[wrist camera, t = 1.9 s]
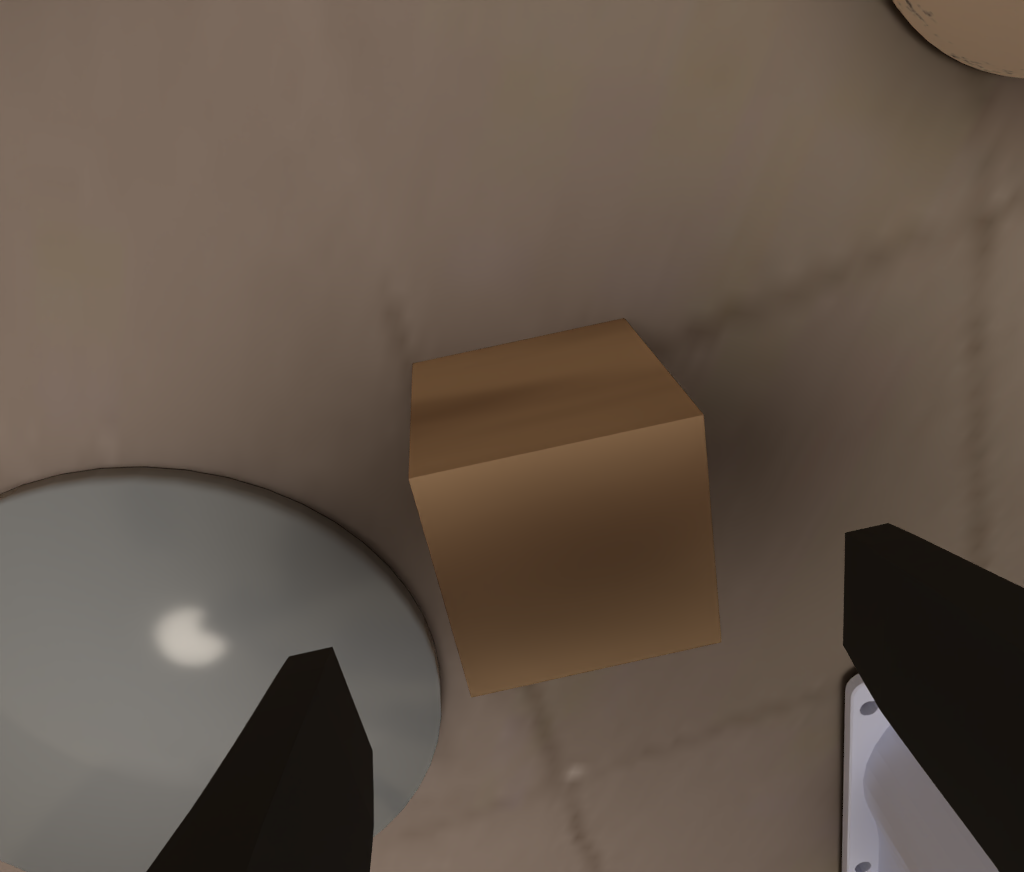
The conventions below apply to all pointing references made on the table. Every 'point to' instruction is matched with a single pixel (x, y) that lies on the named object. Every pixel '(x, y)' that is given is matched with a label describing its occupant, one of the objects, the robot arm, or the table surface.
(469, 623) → the walnut block
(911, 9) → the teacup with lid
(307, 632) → the slate dish
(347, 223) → the table surface
